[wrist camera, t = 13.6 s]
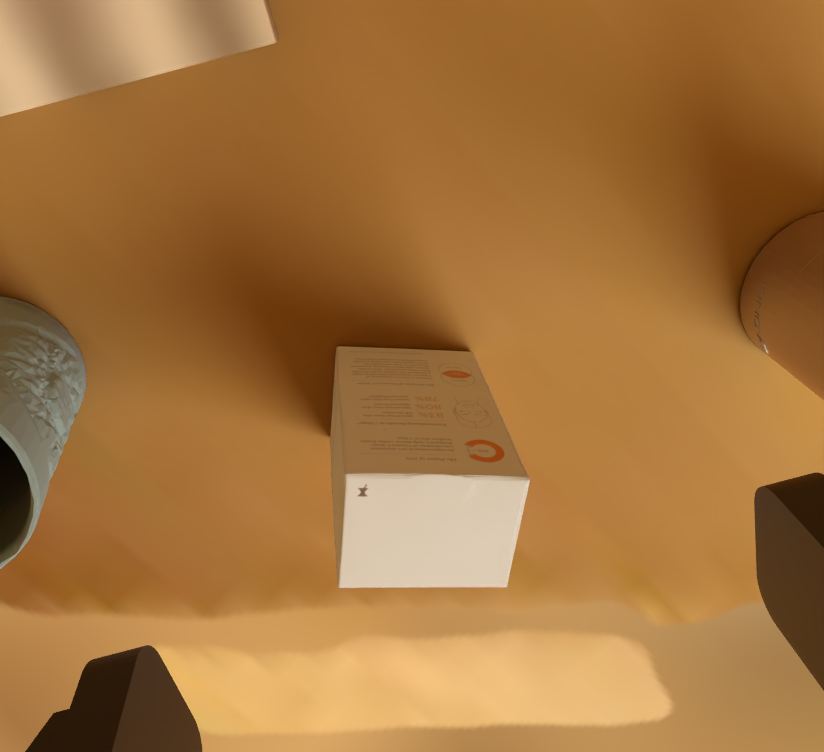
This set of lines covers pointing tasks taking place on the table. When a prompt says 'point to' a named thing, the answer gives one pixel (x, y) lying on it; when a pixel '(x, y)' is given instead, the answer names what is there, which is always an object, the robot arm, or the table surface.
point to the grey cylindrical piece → (32, 413)
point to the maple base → (115, 43)
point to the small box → (421, 472)
